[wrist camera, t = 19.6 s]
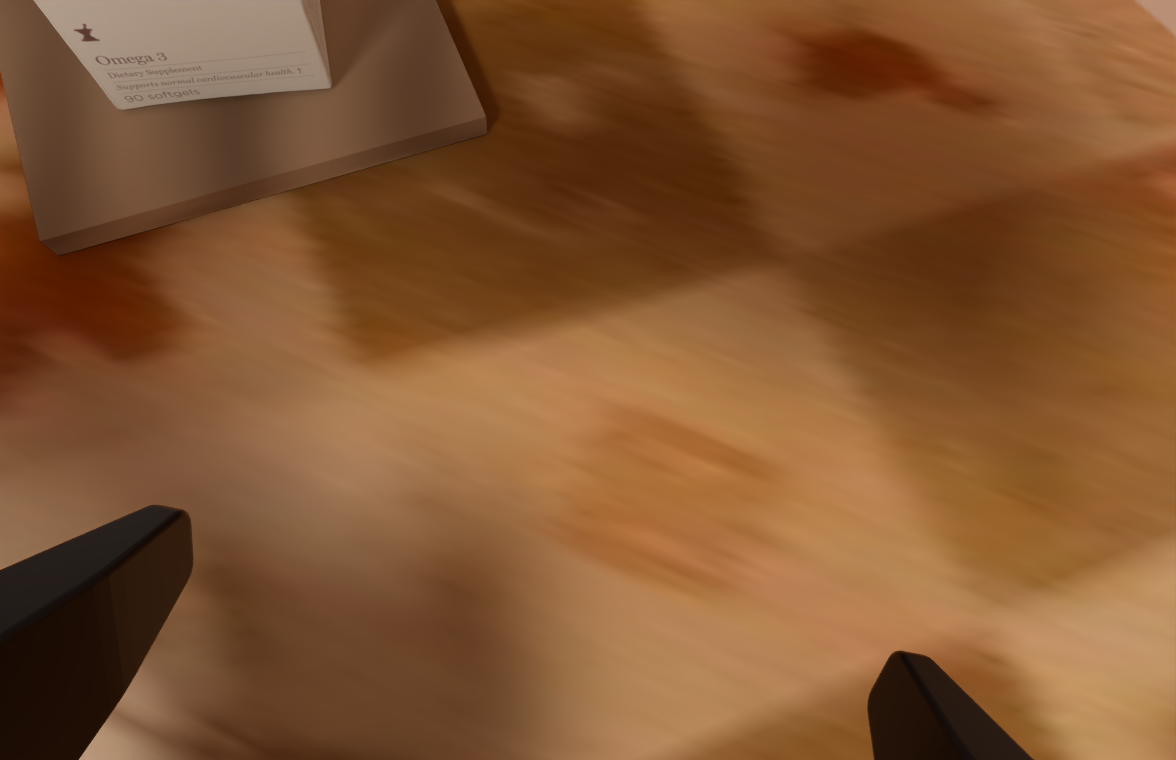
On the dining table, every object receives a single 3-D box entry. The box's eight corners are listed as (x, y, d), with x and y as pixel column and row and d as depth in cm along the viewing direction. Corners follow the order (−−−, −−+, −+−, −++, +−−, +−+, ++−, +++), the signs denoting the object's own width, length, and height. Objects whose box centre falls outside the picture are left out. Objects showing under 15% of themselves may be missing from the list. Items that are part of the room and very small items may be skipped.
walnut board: (58, 255, 24) (39, 241, 23) (-21, -78, 28) (-40, -102, 27) (486, 133, 27) (486, 116, 26) (364, -152, 31) (359, -176, 30)
